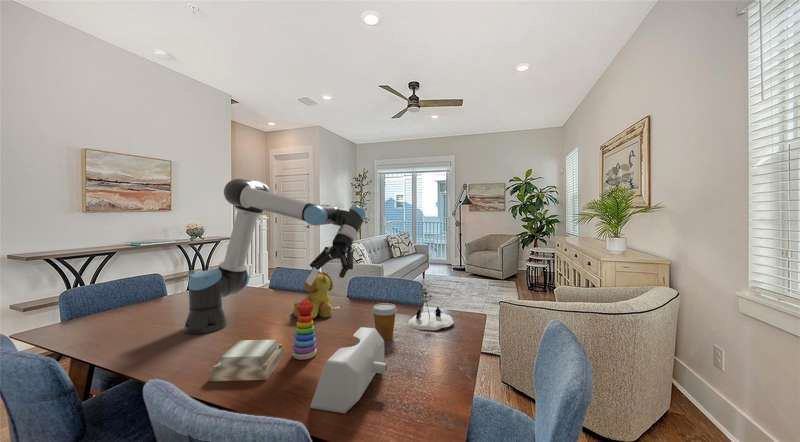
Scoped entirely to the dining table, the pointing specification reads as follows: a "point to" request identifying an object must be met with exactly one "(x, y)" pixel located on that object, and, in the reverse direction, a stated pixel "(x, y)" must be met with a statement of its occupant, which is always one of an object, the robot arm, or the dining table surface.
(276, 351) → the plinth
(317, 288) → the giraffe plush
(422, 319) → the figurine
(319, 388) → the tank
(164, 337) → the dining table surface
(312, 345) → the stacking toy
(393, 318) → the disposable coffee cup
